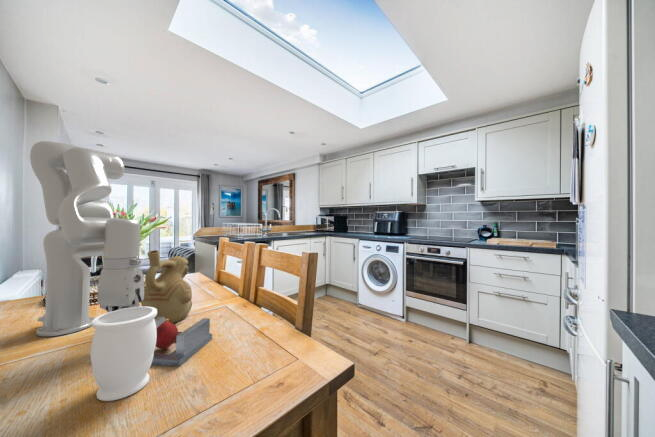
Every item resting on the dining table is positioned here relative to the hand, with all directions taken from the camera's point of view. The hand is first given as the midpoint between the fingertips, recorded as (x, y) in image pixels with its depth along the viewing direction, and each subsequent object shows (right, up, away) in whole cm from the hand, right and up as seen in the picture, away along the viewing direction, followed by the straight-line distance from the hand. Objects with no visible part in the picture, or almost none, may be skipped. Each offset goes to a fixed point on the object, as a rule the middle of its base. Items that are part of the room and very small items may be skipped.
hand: (118, 330), depth 66 cm
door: (+8, -3, -1) cm, 9 cm away
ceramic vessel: (0, -5, +18) cm, 19 cm away
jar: (+15, -4, -16) cm, 23 cm away
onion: (+14, -5, -1) cm, 15 cm away
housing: (+12, -4, -1) cm, 13 cm away
